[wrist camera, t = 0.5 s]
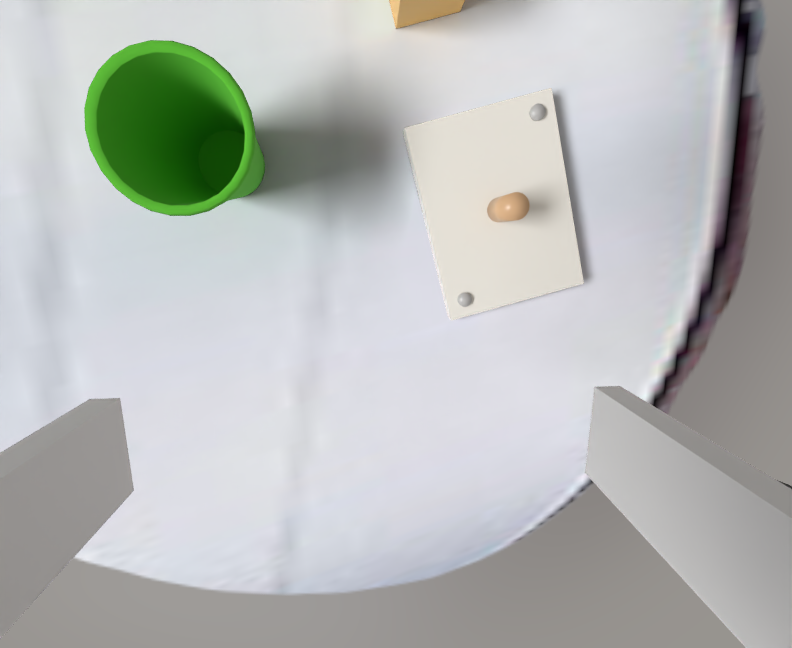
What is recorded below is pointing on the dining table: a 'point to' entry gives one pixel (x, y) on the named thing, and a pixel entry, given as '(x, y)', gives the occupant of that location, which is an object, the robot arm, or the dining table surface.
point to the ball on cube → (422, 10)
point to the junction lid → (496, 203)
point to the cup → (172, 129)
